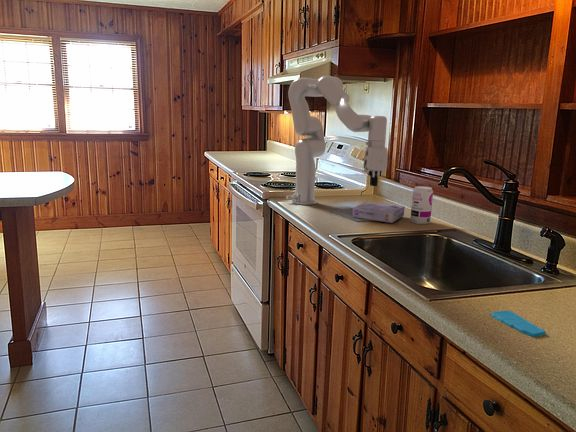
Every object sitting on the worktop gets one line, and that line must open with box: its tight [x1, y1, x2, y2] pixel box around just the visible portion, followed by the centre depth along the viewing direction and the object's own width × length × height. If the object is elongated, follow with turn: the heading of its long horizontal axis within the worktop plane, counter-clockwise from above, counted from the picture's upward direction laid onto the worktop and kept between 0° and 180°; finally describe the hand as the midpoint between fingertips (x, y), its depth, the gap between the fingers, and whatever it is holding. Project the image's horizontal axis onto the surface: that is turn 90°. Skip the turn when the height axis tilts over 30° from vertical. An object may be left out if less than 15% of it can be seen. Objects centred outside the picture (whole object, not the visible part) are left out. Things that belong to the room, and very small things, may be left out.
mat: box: [330, 208, 376, 223], centre depth 216 cm, size 18×22×1 cm
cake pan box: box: [352, 201, 405, 224], centre depth 212 cm, size 19×5×18 cm
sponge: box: [490, 310, 547, 338], centre depth 109 cm, size 2×12×6 cm
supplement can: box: [409, 185, 434, 225], centre depth 205 cm, size 8×8×15 cm
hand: (373, 185), depth 216 cm, fingers closed
